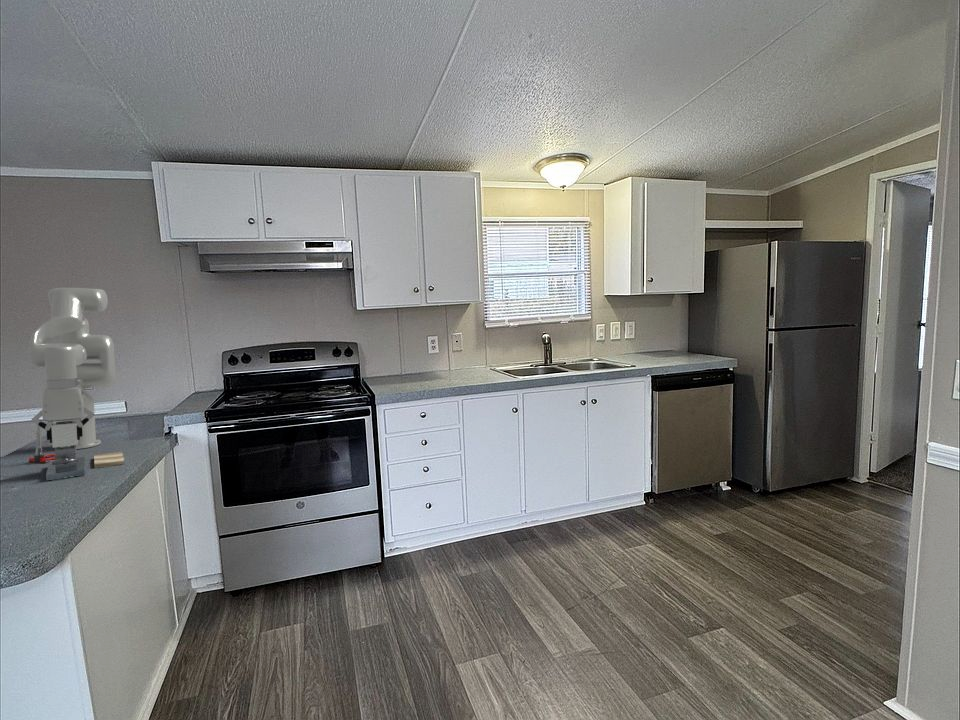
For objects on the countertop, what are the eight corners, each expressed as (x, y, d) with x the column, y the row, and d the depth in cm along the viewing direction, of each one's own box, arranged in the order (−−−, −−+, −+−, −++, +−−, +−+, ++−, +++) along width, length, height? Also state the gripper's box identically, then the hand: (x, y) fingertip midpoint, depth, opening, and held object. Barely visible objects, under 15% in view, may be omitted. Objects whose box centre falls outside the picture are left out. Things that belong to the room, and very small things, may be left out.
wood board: (94, 458, 174) (94, 455, 174) (122, 455, 179) (122, 451, 179) (94, 468, 163) (94, 464, 163) (124, 464, 168) (124, 460, 168)
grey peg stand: (50, 467, 164) (47, 425, 163) (85, 462, 169) (82, 421, 168) (46, 481, 150) (43, 435, 148) (84, 475, 155) (82, 431, 154)
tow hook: (53, 456, 178) (25, 462, 169) (53, 420, 178) (25, 424, 168) (73, 457, 177) (47, 464, 168) (73, 421, 176) (47, 425, 167)
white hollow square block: (53, 443, 160) (52, 422, 159) (77, 440, 163) (76, 419, 163) (52, 447, 155) (51, 425, 154) (77, 444, 159) (76, 423, 158)
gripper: (96, 381, 166) (99, 434, 167) (26, 385, 155) (30, 441, 157) (96, 383, 160) (99, 439, 161) (23, 388, 149) (27, 447, 151)
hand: (65, 439), depth 159 cm, fingers closed on white hollow square block, 6 cm apart
